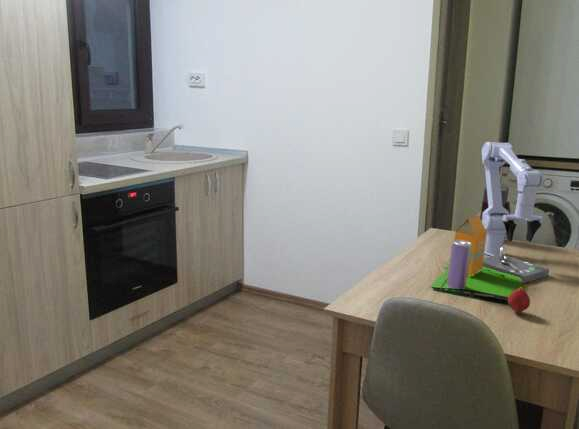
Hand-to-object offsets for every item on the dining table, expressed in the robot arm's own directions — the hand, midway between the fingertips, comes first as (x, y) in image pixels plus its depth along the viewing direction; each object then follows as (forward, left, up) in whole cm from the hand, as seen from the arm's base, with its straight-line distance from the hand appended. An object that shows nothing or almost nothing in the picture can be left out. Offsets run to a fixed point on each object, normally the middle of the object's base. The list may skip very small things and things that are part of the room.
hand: (519, 240), depth 192 cm
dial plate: (+2, -5, -10) cm, 12 cm away
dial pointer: (+1, -7, -7) cm, 10 cm away
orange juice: (-6, -21, -11) cm, 24 cm away
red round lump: (+24, -38, -11) cm, 47 cm away
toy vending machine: (-27, +26, -11) cm, 39 cm away
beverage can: (+2, -37, -11) cm, 39 cm away
